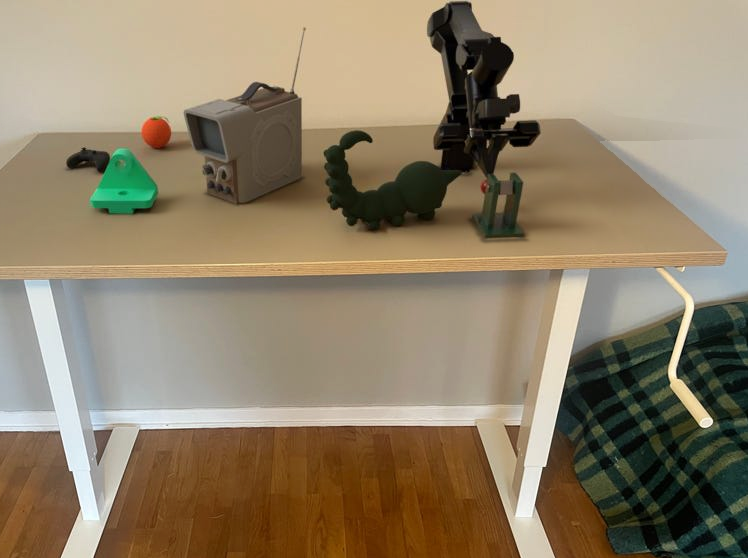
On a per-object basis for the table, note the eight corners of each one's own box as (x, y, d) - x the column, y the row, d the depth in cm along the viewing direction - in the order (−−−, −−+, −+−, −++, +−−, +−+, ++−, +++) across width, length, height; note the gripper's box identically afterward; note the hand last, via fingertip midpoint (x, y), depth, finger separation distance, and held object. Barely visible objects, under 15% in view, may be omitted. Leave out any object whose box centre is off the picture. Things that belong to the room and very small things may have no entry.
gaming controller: (63, 165, 163) (70, 140, 164) (75, 175, 168) (83, 151, 169) (100, 170, 160) (107, 144, 160) (112, 180, 165) (119, 156, 166)
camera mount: (91, 213, 144) (81, 162, 138) (101, 197, 150) (92, 148, 144) (151, 213, 143) (144, 162, 137) (158, 197, 149) (152, 148, 143)
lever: (478, 195, 139) (478, 179, 138) (494, 194, 139) (494, 178, 138) (497, 196, 128) (498, 179, 127) (514, 196, 128) (515, 178, 127)
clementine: (160, 139, 179) (157, 109, 175) (181, 144, 175) (178, 114, 171) (137, 148, 173) (133, 118, 169) (158, 154, 170) (155, 123, 166)
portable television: (189, 197, 149) (174, 40, 131) (269, 164, 163) (265, 18, 145) (230, 213, 142) (220, 49, 125) (310, 177, 156) (311, 25, 139)
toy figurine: (335, 246, 133) (469, 224, 134) (328, 145, 122) (474, 121, 123) (325, 224, 140) (452, 203, 142) (317, 127, 129) (455, 105, 131)
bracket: (471, 219, 137) (478, 169, 131) (508, 218, 137) (517, 167, 131) (484, 241, 130) (492, 188, 124) (523, 239, 130) (533, 186, 124)
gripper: (443, 78, 131) (450, 160, 128) (547, 75, 131) (556, 157, 128) (429, 110, 142) (436, 186, 139) (525, 107, 142) (533, 183, 139)
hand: (489, 178), depth 136 cm, fingers closed, pressing on lever
